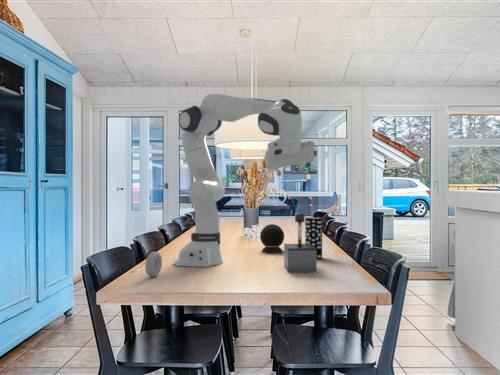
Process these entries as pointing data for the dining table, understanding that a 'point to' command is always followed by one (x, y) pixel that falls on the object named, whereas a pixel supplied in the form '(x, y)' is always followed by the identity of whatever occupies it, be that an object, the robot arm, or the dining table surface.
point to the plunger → (299, 226)
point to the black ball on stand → (272, 238)
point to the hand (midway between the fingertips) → (289, 173)
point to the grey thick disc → (153, 264)
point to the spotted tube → (314, 234)
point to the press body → (300, 258)
